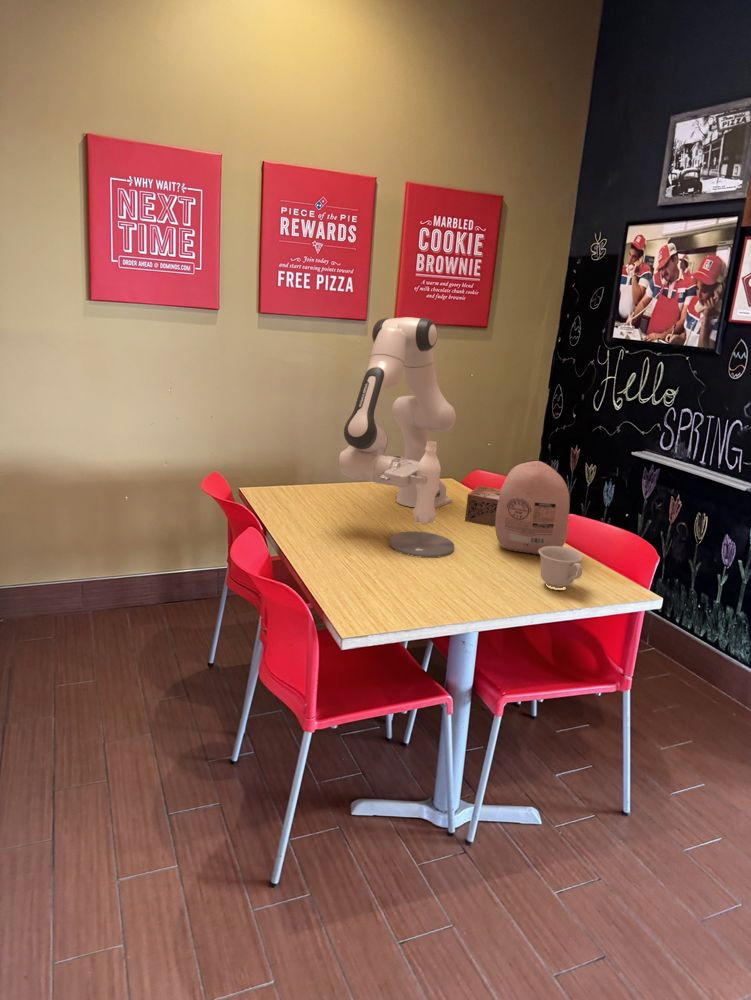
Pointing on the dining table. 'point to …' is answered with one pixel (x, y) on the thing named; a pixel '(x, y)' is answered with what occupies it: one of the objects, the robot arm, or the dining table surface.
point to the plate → (421, 544)
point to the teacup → (559, 565)
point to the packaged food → (532, 508)
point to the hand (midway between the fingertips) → (430, 478)
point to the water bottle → (427, 485)
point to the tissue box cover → (482, 505)
